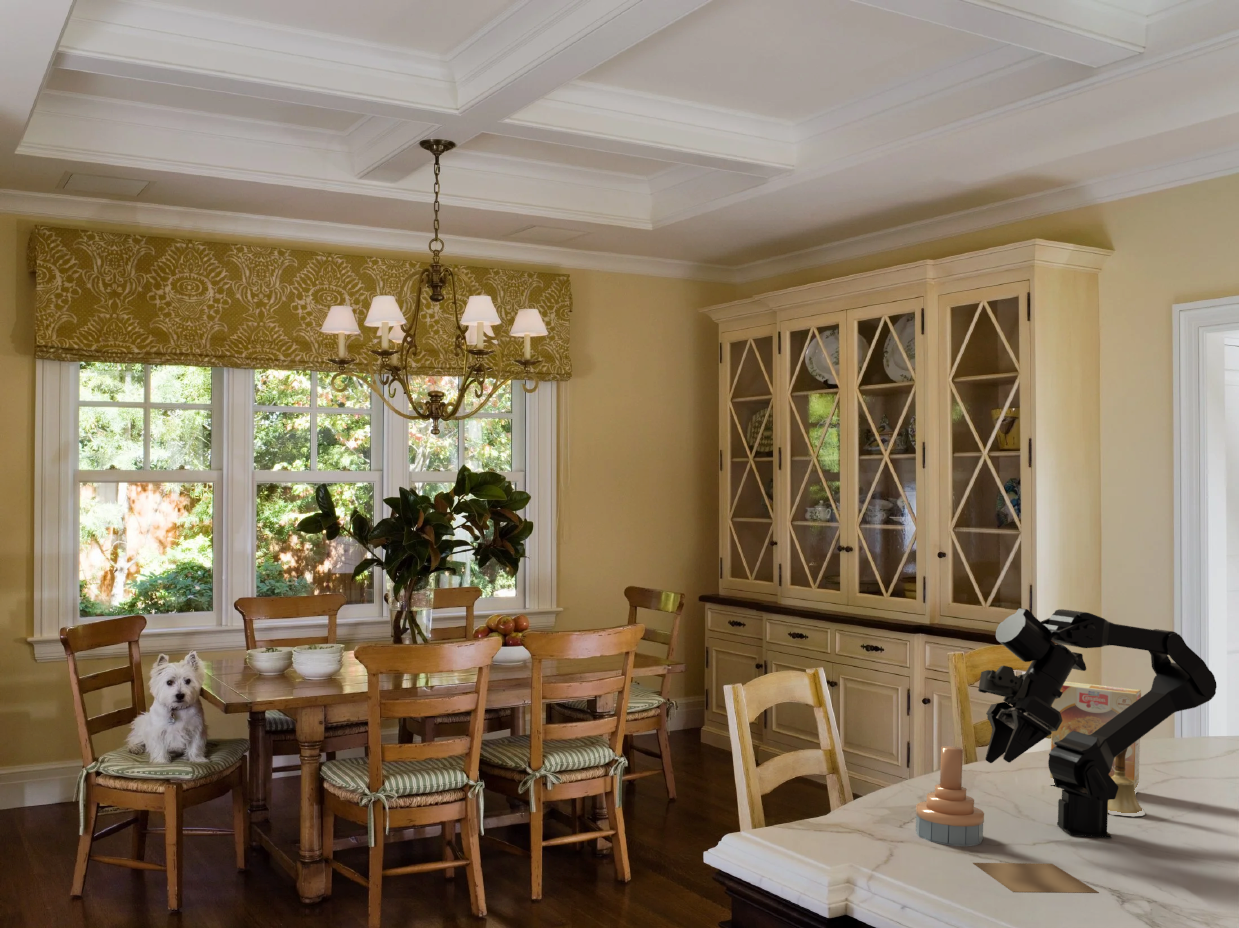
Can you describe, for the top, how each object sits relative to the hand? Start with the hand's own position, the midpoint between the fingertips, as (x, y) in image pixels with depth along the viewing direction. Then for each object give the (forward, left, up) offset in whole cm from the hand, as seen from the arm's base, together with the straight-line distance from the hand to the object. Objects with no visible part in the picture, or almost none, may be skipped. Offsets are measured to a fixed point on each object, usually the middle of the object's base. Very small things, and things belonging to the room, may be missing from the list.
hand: (996, 761), depth 171 cm
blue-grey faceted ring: (+8, +4, -12) cm, 15 cm away
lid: (+8, +4, -8) cm, 12 cm away
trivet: (+1, +22, -12) cm, 25 cm away
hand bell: (-28, -22, -12) cm, 38 cm away
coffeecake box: (-30, -39, -12) cm, 51 cm away
